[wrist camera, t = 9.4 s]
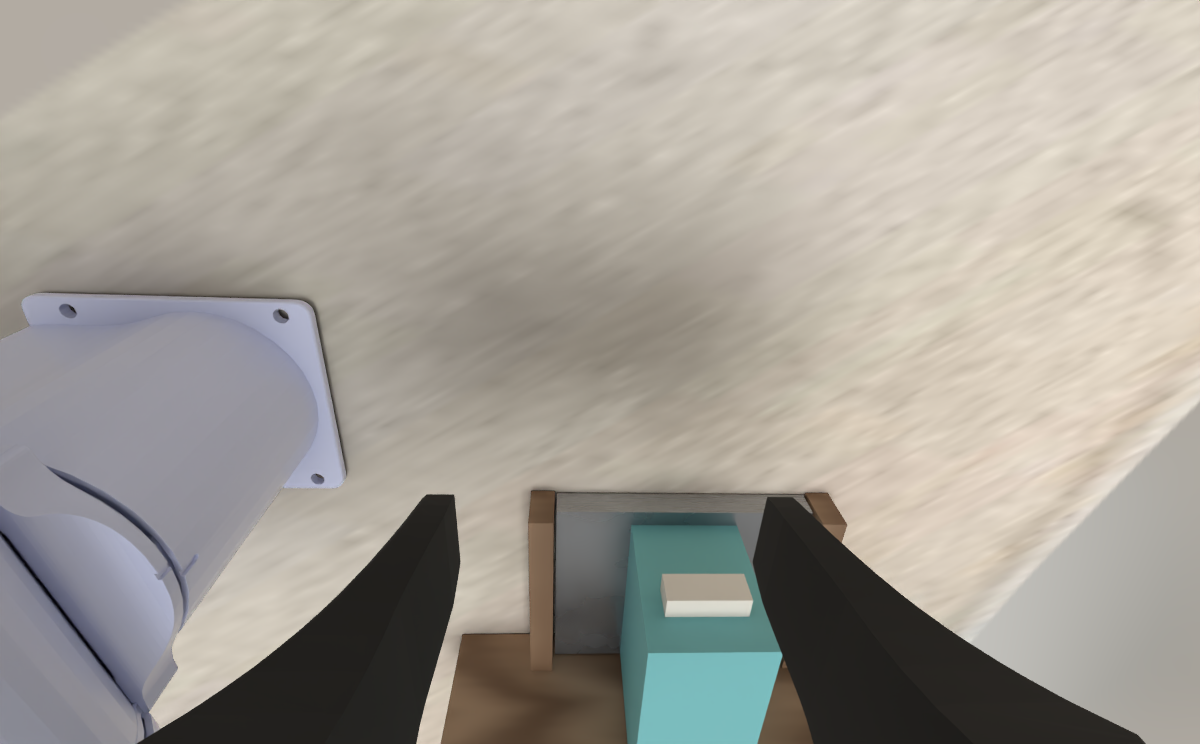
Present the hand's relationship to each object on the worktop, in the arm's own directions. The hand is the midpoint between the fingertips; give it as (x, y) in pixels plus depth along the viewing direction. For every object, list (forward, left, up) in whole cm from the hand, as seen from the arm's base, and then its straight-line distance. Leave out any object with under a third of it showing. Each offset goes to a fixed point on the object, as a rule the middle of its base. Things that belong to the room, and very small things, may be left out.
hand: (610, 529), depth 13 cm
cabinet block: (+4, -11, -8) cm, 15 cm away
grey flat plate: (+4, -11, -9) cm, 15 cm away
